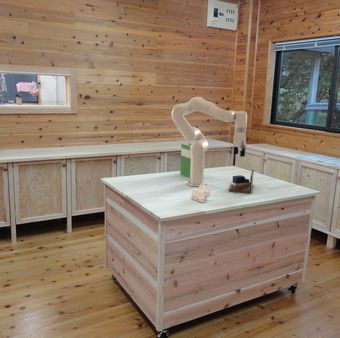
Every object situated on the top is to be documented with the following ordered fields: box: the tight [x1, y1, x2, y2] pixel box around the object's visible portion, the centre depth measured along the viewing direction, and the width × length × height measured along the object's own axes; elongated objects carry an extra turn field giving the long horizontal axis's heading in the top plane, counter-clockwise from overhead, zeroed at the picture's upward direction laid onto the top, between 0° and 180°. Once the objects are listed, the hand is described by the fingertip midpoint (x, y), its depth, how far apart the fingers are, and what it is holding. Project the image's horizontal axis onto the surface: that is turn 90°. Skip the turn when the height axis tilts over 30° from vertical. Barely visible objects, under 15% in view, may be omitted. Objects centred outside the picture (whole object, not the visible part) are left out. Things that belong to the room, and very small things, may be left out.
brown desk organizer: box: [229, 168, 255, 195], centre depth 264 cm, size 14×24×12 cm, turn 166°
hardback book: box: [179, 143, 192, 178], centre depth 295 cm, size 18×7×24 cm, turn 30°
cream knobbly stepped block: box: [190, 184, 211, 203], centre depth 235 cm, size 12×6×11 cm, turn 40°
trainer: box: [231, 174, 250, 186], centre depth 267 cm, size 12×5×6 cm, turn 116°
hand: (239, 155), depth 256 cm, fingers open, 9 cm apart
